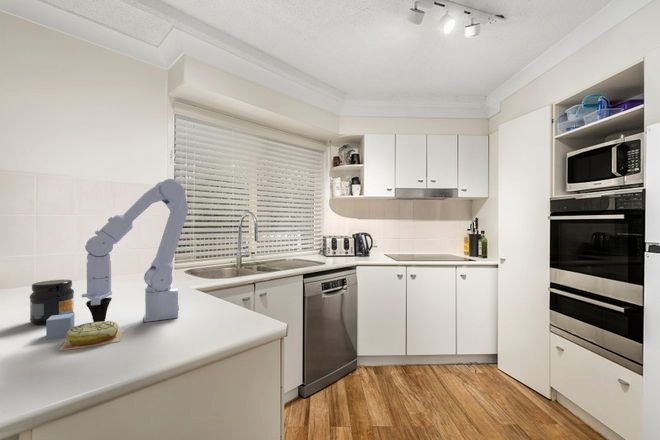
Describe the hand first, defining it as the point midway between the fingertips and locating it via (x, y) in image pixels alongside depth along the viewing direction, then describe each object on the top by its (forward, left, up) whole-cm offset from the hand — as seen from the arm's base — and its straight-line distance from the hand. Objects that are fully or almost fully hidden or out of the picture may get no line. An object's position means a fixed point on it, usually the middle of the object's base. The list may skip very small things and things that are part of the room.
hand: (99, 324), depth 92 cm
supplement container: (+14, -17, -1) cm, 22 cm away
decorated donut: (0, +11, -1) cm, 11 cm away
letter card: (0, +11, -1) cm, 11 cm away
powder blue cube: (+8, +1, -1) cm, 9 cm away
